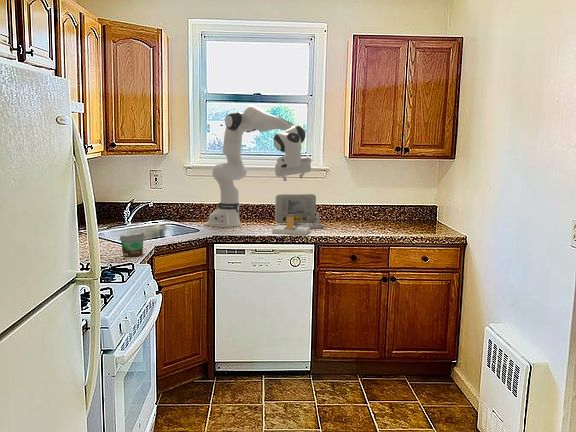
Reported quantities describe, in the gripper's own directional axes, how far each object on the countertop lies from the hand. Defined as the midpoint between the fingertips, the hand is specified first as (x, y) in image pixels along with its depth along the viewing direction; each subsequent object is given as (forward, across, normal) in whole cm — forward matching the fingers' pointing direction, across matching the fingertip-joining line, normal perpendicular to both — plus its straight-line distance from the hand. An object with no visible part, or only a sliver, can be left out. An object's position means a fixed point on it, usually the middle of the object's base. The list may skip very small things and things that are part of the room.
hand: (292, 179), depth 313 cm
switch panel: (+32, +3, +11) cm, 34 cm away
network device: (+46, -4, -7) cm, 47 cm away
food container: (-11, +88, +49) cm, 101 cm away
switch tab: (+28, +4, +12) cm, 30 cm away
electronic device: (+42, -12, +2) cm, 44 cm away
